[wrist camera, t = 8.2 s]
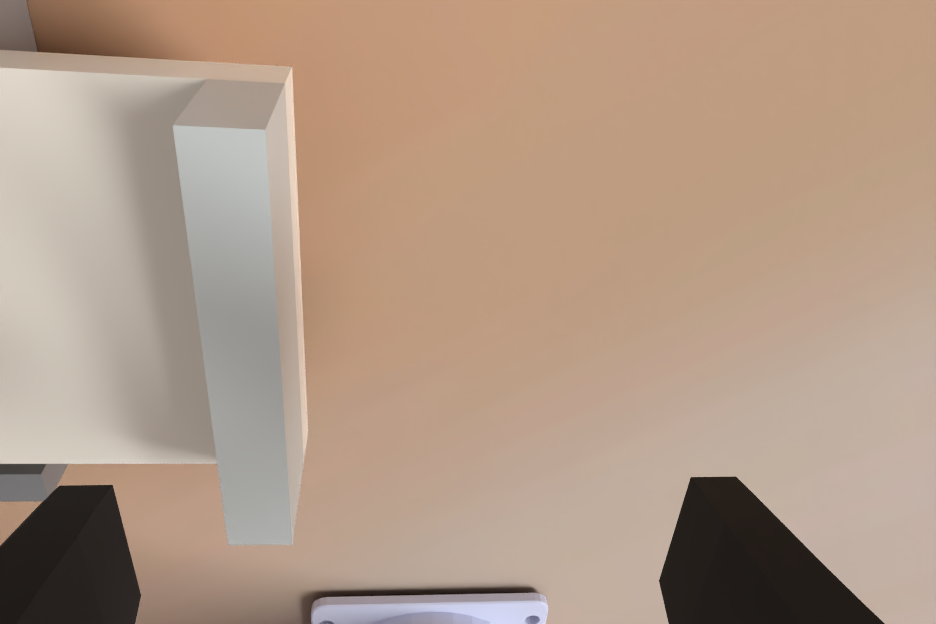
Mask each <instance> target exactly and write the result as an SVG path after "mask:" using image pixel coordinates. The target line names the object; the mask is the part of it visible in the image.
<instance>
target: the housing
mask: <svg viewBox="0 0 936 624" xmlns="http://www.w3.org/2000/svg"><path fill="white" fill-rule="evenodd" d="M0 50H11V51H28V52H38V51H37V47H36V42H35V37H34V33H33V28H32V24H31V19H30V15H29V10H28V5H27V1H26V0H0ZM67 465H68V464H0V501H44V500H45V499H46V498H47V497H48V496H49V495H50V494H51V493H52V492H53V491H54V490H55V489H56V487H57V485H58V483H59V481H60V479H61V477H62V475H63V473H64V471H65V469H66V467H67Z"/></svg>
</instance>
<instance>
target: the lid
mask: <svg viewBox="0 0 936 624" xmlns="http://www.w3.org/2000/svg"><path fill="white" fill-rule="evenodd" d="M307 436H308V421H307V398H306V375H305V352H304V330H303V307H302V284H301V261H300V239H299V216H298V193H297V170H296V147H295V125H294V102H293V79H292V67H288V66H271V65H254V64H236V63H219V62H202V61H184V60H167V59H150V58H132V57H115V56H98V55H80V54H63V53H46V52H28V51H11V50H0V464H217V465H218V473H219V480H220V488H221V496H222V503H223V511H224V518H225V526H226V533H227V541H228V545H292V544H293V536H294V529H295V522H296V515H297V508H298V501H299V494H300V486H301V479H302V472H303V465H304V458H305V451H306V444H307Z"/></svg>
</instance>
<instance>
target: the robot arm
mask: <svg viewBox="0 0 936 624" xmlns="http://www.w3.org/2000/svg"><path fill="white" fill-rule="evenodd" d="M659 582H660V587H661V591H662V595H663V600H664V604H665V609H666V613H667V618H668V622H669V624H884V623H883V622H882V621H881V620H880V619H879V618H878V617H877V616H876V615H875V614H874V613H873V612H872V611H871V610H870V609H869V608H867V607H866V606H865V605H864V604H863V603H862V602H861V601H860V600H859V599H858V598H857V597H856V596H855V595H854V594H853V593H852V592H851V591H850V590H849V589H848V588H847V587H846V586H845V585H844V584H843V583H842V582H841V581H840V580H839V579H838V578H837V577H836V576H835V575H834V574H833V573H832V572H831V571H829V570H828V569H827V568H826V567H825V566H824V565H823V564H822V563H821V562H820V561H819V560H818V559H817V558H816V557H815V556H814V555H813V554H812V553H811V552H810V551H809V550H808V549H807V548H806V547H805V546H804V544H803V543H802V542H801V541H800V540H799V539H798V538H797V537H796V536H795V535H794V534H793V533H792V532H791V531H790V530H789V529H788V528H787V527H786V526H785V525H784V524H783V523H782V522H781V521H780V520H779V519H778V518H777V517H776V516H775V515H774V514H773V513H772V512H771V511H770V510H769V509H768V508H767V507H766V506H765V505H764V504H763V503H762V502H761V501H760V500H759V499H758V498H757V497H756V496H755V495H754V494H753V493H752V492H751V491H750V490H749V489H748V488H747V487H746V486H745V485H744V484H743V483H742V482H741V481H740V480H739V479H738V478H737V477H691V479H690V482H689V485H688V488H687V492H686V495H685V498H684V501H683V505H682V508H681V511H680V515H679V518H678V521H677V524H676V528H675V531H674V534H673V537H672V541H671V544H670V547H669V550H668V554H667V557H666V560H665V564H664V567H663V570H662V573H661V577H660V580H659ZM140 597H141V594H140V590H139V586H138V582H137V578H136V574H135V571H134V567H133V563H132V559H131V555H130V551H129V547H128V543H127V539H126V536H125V532H124V528H123V524H122V520H121V516H120V512H119V508H118V504H117V501H116V497H115V493H114V489H113V485H82V486H59V487H58V488H56V489H55V490H54V491H53V492H52V493H51V494H50V495H49V496H48V497H47V498H46V499H45V500H44V501H43V502H42V503H41V504H40V505H39V506H38V507H37V508H36V509H35V510H34V511H33V512H32V513H31V514H30V516H29V517H28V518H27V519H26V520H25V521H24V522H23V523H22V524H21V525H20V526H19V527H18V528H17V529H16V530H15V531H14V532H13V533H12V534H11V535H10V536H9V537H8V538H7V540H6V541H5V542H4V543H3V544H2V545H1V546H0V624H135V620H136V616H137V611H138V607H139V602H140ZM547 613H548V604H547V599H546V597H545V596H544V595H542V594H539V593H496V594H447V595H398V596H349V597H323V598H320V599H318V600H316V601H315V602H314V603H313V604H312V610H311V624H545V622H546V618H547Z"/></svg>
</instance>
